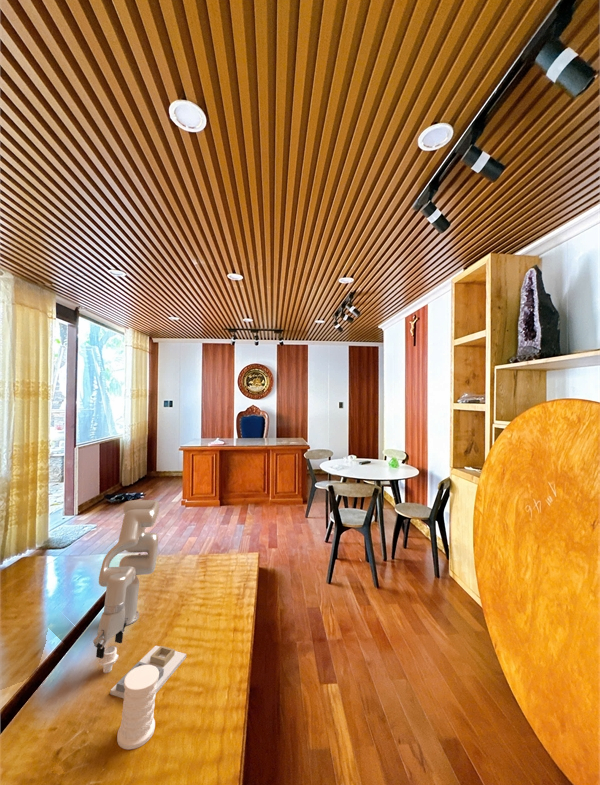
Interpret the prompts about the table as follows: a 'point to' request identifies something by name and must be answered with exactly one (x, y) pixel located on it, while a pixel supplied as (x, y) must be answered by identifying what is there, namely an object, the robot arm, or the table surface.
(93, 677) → the table surface
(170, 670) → the board
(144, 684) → the white carved column
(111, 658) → the pipe fitting
